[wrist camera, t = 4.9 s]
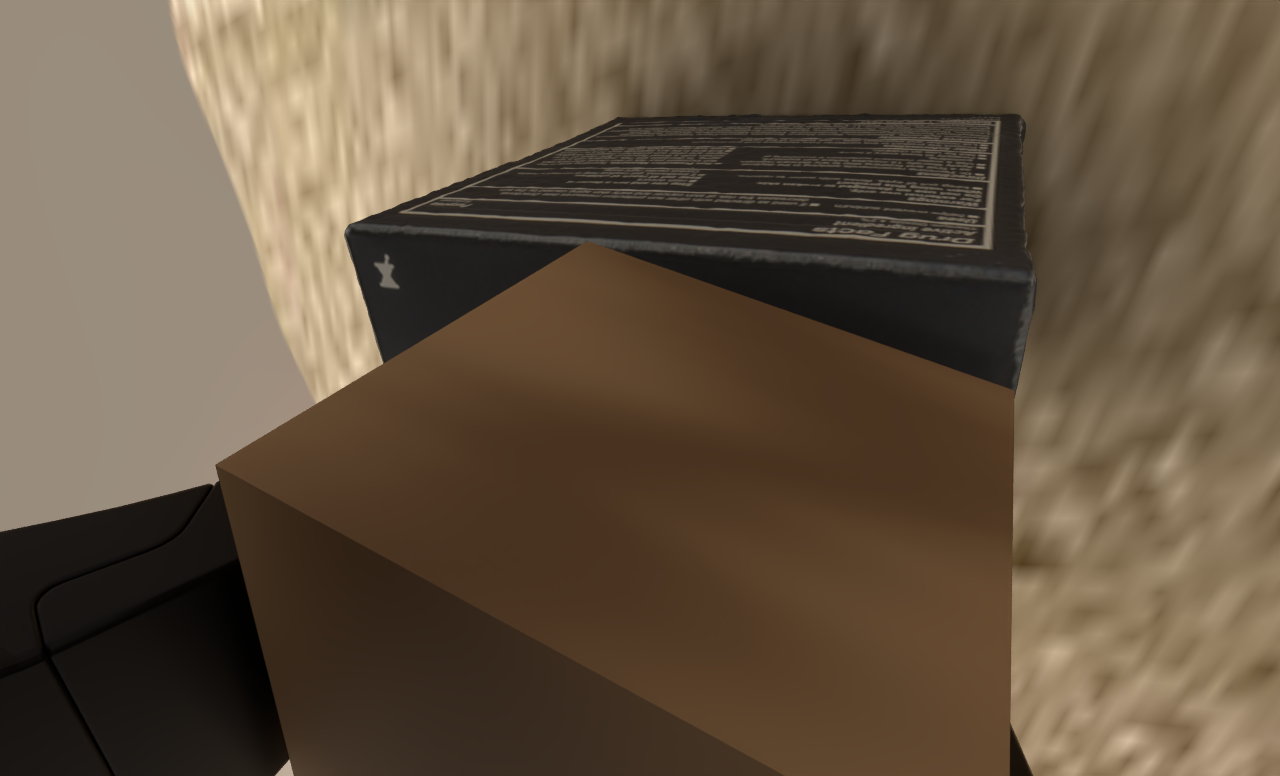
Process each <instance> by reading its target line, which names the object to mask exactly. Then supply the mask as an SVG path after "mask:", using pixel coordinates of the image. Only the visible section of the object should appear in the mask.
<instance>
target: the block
mask: <svg viewBox="0 0 1280 776" xmlns="http://www.w3.org/2000/svg"><path fill="white" fill-rule="evenodd" d="M1013 461H1014V390H1011V389H1009V388H1006V387H1003V386H1000V385H997V384H994V383H991V382H989V381H986V380H983V379H980V378H977V377H974V376H971V375H969V374H966V373H963V372H960V371H957V370H954V369H951V368H949V367H946V366H943V365H940V364H937V363H934V362H932V361H929V360H926V359H923V358H920V357H917V356H914V355H912V354H909V353H906V352H903V351H900V350H897V349H894V348H892V347H889V346H886V345H883V344H880V343H877V342H874V341H872V340H869V339H866V338H863V337H860V336H857V335H854V334H852V333H849V332H846V331H843V330H840V329H837V328H834V327H832V326H829V325H826V324H823V323H820V322H817V321H814V320H812V319H809V318H806V317H803V316H800V315H797V314H794V313H792V312H789V311H786V310H783V309H780V308H777V307H774V306H772V305H769V304H766V303H763V302H760V301H757V300H754V299H752V298H749V297H746V296H743V295H740V294H737V293H735V292H732V291H729V290H726V289H723V288H720V287H717V286H715V285H712V284H709V283H706V282H703V281H700V280H697V279H695V278H692V277H689V276H686V275H683V274H680V273H677V272H675V271H672V270H669V269H666V268H663V267H660V266H657V265H655V264H652V263H649V262H646V261H643V260H640V259H637V258H635V257H632V256H629V255H626V254H623V253H620V252H617V251H615V250H612V249H609V248H606V247H603V246H600V245H597V244H595V243H592V242H589V241H587V242H585V243H583V244H582V245H580V246H578V247H577V248H575V249H573V250H572V251H570V252H568V253H567V254H565V255H563V256H562V257H560V258H558V259H557V260H555V261H553V262H552V263H550V264H548V265H547V266H545V267H544V268H542V269H540V270H539V271H537V272H535V273H534V274H532V275H530V276H529V277H527V278H525V279H524V280H522V281H520V282H519V283H517V284H515V285H514V286H512V287H510V288H509V289H507V290H505V291H504V292H502V293H500V294H499V295H497V296H495V297H494V298H492V299H490V300H489V301H487V302H485V303H484V304H482V305H480V306H479V307H477V308H475V309H474V310H472V311H470V312H469V313H467V314H465V315H464V316H462V317H460V318H459V319H457V320H455V321H454V322H452V323H450V324H449V325H447V326H445V327H444V328H442V329H440V330H439V331H437V332H435V333H434V334H432V335H430V336H429V337H427V338H425V339H424V340H422V341H420V342H419V343H417V344H415V345H414V346H412V347H410V348H409V349H407V350H405V351H404V352H402V353H401V354H399V355H397V356H396V357H394V358H392V359H391V360H389V361H387V362H386V363H384V364H382V365H381V366H379V367H377V368H376V369H374V370H372V371H371V372H369V373H367V374H366V375H364V376H362V377H361V378H359V379H357V380H356V381H354V382H352V383H351V384H349V385H347V386H346V387H344V388H342V389H341V390H339V391H337V392H336V393H334V394H332V395H331V396H329V397H327V398H326V399H324V400H322V401H321V402H319V403H317V404H316V405H314V406H312V407H311V408H309V409H307V410H306V411H304V412H302V413H301V414H299V415H297V416H296V417H294V418H293V419H291V420H289V421H288V422H286V423H284V424H282V425H281V426H279V427H277V428H276V429H275V430H272V431H271V432H269V433H268V434H266V435H264V436H263V437H261V438H259V439H258V440H256V441H254V442H253V443H251V444H249V445H248V446H246V447H244V448H243V449H241V450H239V451H238V452H236V453H234V454H233V455H231V456H229V457H228V458H226V459H224V460H223V461H221V462H219V463H218V464H216V469H217V474H218V477H219V481H220V485H221V489H222V493H223V497H224V501H225V505H226V509H227V513H228V517H229V521H230V525H231V529H232V533H233V537H234V541H235V545H236V549H237V553H238V557H239V561H240V564H241V568H242V572H243V576H244V580H245V584H246V588H247V592H248V596H249V600H250V604H251V608H252V612H253V616H254V620H255V624H256V628H257V632H258V636H259V640H260V644H261V648H262V651H263V655H264V659H265V663H266V667H267V671H268V675H269V679H270V683H271V687H272V691H273V695H274V699H275V703H276V707H277V711H278V715H279V719H280V723H281V727H282V731H283V735H284V738H285V742H286V746H287V750H288V754H289V758H290V762H291V766H292V770H293V774H294V776H1010V701H1011V621H1012V541H1013Z"/></svg>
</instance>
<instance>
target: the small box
mask: <svg viewBox="0 0 1280 776" xmlns="http://www.w3.org/2000/svg"><path fill="white" fill-rule="evenodd" d="M1025 132H1026V124H1025V122H1024V120H1023V119H1022V117H1021V116H1020V115H1014V114H1007V115H960V114H951V115H942V114H941V115H869V114H861V115H853V116H850V115H840V116H834V115H821V116H817V115H814V116H784V115H782V116H761V115H756V114H753V115H743V116H736V115H731V116H709V117H705V116H700V115H699V116H678V117H653V118H622V117H617V118H616V119H614V120H612V121H610V122H608V123H606V124H603V125H601V126H598V127H596V128H594V129H591V130H590V131H588V132H586V133H583V134H581V135H578V136H576V137H574V138H572V139H570V140H568V141H566V142H563V143H559V144H556V145H555V146H553V147H551V148H548V149H544V150H542V151H540V152H537V153H535V154H533V155H531V156H528V157H525V158H523V159H521V160H519V161H515V162H508V163H506V164H504V165H501V166H499V167H497V168H494V169H491V170H489V171H485V172H483V173H481V174H478V175H476V176H474V177H472V178H467V179H465V180H464V181H462V182H457V183H454V184H452V185H450V186H448V187H445V188H442V189H440V190H437V191H433V192H431V193H429V194H428V195H426V196H423V197H420V198H415V199H413V200H411V201H408V202H405V203H402V204H399V205H398V206H396V207H394V208H392V209H388V210H386V211H383V212H381V213H379V214H375V215H371V216H369V217H367V218H365V219H363V220H360V221H357V222H355V223H352V224H349V225H348V227H347V228H346V230H345V234H344V236H345V239H346V243H347V246H348V249H349V253H350V256H351V259H352V262H353V264H354V267H355V270H356V275H357V279H358V282H359V285H360V287H361V291H362V295H363V298H364V301H365V304H366V307H367V310H368V315H369V318H370V321H371V324H372V328H373V331H374V335H375V339H376V343H377V346H378V349H379V351H380V355H381V358H382V361H383V364H384V363H386V362H387V361H389V360H391V359H392V358H394V357H396V356H397V355H399V354H401V353H402V352H404V351H405V350H407V349H409V348H410V347H412V346H414V345H415V344H417V343H419V342H420V341H422V340H424V339H425V338H427V337H429V336H430V335H432V334H434V333H435V332H437V331H439V330H440V329H442V328H444V327H445V326H447V325H449V324H450V323H452V322H454V321H455V320H457V319H459V318H460V317H462V316H464V315H465V314H467V313H469V312H470V311H472V310H474V309H475V308H477V307H479V306H480V305H482V304H484V303H485V302H487V301H489V300H490V299H492V298H494V297H495V296H497V295H499V294H500V293H502V292H504V291H505V290H507V289H509V288H510V287H512V286H514V285H515V284H517V283H519V282H520V281H522V280H524V279H525V278H527V277H529V276H530V275H532V274H534V273H535V272H537V271H539V270H540V269H542V268H544V267H545V266H547V265H548V264H550V263H552V262H553V261H555V260H557V259H558V258H560V257H562V256H563V255H565V254H567V253H568V252H570V251H572V250H573V249H575V248H577V247H578V246H580V245H582V244H583V243H585V242H587V241H589V242H592V243H595V244H597V245H600V246H603V247H606V248H609V249H612V250H615V251H617V252H620V253H623V254H626V255H629V256H632V257H635V258H637V259H640V260H643V261H646V262H649V263H652V264H655V265H657V266H660V267H663V268H666V269H669V270H672V271H675V272H677V273H680V274H683V275H686V276H689V277H692V278H695V279H697V280H700V281H703V282H706V283H709V284H712V285H715V286H717V287H720V288H723V289H726V290H729V291H732V292H735V293H737V294H740V295H743V296H746V297H749V298H752V299H754V300H757V301H760V302H763V303H766V304H769V305H772V306H774V307H777V308H780V309H783V310H786V311H789V312H792V313H794V314H797V315H800V316H803V317H806V318H809V319H812V320H814V321H817V322H820V323H823V324H826V325H829V326H832V327H834V328H837V329H840V330H843V331H846V332H849V333H852V334H854V335H857V336H860V337H863V338H866V339H869V340H872V341H874V342H877V343H880V344H883V345H886V346H889V347H892V348H894V349H897V350H900V351H903V352H906V353H909V354H912V355H914V356H917V357H920V358H923V359H926V360H929V361H932V362H934V363H937V364H940V365H943V366H946V367H949V368H951V369H954V370H957V371H960V372H963V373H966V374H969V375H971V376H974V377H977V378H980V379H983V380H986V381H989V382H991V383H994V384H997V385H1000V386H1003V387H1006V388H1009V389H1011V390H1014V399H1015V394H1016V389H1017V385H1018V380H1019V375H1020V371H1021V366H1022V361H1023V356H1024V351H1025V345H1026V339H1027V333H1028V330H1029V326H1030V322H1031V319H1032V315H1033V311H1034V307H1035V296H1036V286H1037V278H1036V275H1035V271H1034V266H1033V261H1032V257H1031V254H1030V251H1029V250H1027V249H1026V245H1027V244H1028V243H1027V238H1028V235H1027V233H1026V231H1025V210H1024V206H1025V187H1024V169H1023V165H1022V164H1023V159H1022V149H1023V145H1022V144H1023V141H1024V138H1025Z"/></svg>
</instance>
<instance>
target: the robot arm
mask: <svg viewBox="0 0 1280 776" xmlns="http://www.w3.org/2000/svg"><path fill="white" fill-rule="evenodd" d="M289 759H290V758H289V754H288V750H287V746H286V742H285V738H284V735H283V731H282V727H281V723H280V719H279V715H278V711H277V707H276V703H275V699H274V695H273V691H272V687H271V683H270V679H269V675H268V671H267V667H266V663H265V659H264V655H263V651H262V648H261V644H260V640H259V636H258V632H257V628H256V624H255V620H254V616H253V612H252V608H251V604H250V600H249V596H248V592H247V588H246V584H245V580H244V576H243V572H242V568H241V564H240V561H239V557H238V553H237V549H236V545H235V541H234V537H233V533H232V529H231V525H230V521H229V517H228V513H227V509H226V505H225V501H224V497H223V493H222V489H221V485H220V481H218V482H216V484H215V485H214V486H213V485H212V484H206V485H202V486H198V487H195V488H191V489H187V490H183V491H179V492H176V493H172V494H168V495H164V496H160V497H156V498H152V499H148V500H144V501H140V502H136V503H132V504H128V505H124V506H121V507H116V508H111V509H107V510H102V511H97V512H93V513H88V514H84V515H80V516H75V517H70V518H65V519H61V520H56V521H51V522H47V523H42V524H37V525H32V526H28V527H22V528H17V529H12V530H8V531H2V532H0V776H275V775H276V774H277V773H278V772H279V771H280V769H281V768H282V767H283V766H284V765H285V764H286V763H287V761H288V760H289ZM1010 776H1033V774H1032V772H1031V770H1030V767H1029V765H1028V763H1027V760H1026V758H1025V756H1024V753H1023V751H1022V749H1021V746H1020V744H1019V742H1018V739H1017V737H1016V735H1015V733H1014V730H1013V728H1012V726H1011V723H1010Z"/></svg>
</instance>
